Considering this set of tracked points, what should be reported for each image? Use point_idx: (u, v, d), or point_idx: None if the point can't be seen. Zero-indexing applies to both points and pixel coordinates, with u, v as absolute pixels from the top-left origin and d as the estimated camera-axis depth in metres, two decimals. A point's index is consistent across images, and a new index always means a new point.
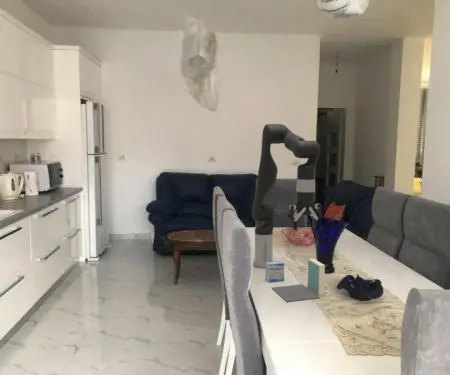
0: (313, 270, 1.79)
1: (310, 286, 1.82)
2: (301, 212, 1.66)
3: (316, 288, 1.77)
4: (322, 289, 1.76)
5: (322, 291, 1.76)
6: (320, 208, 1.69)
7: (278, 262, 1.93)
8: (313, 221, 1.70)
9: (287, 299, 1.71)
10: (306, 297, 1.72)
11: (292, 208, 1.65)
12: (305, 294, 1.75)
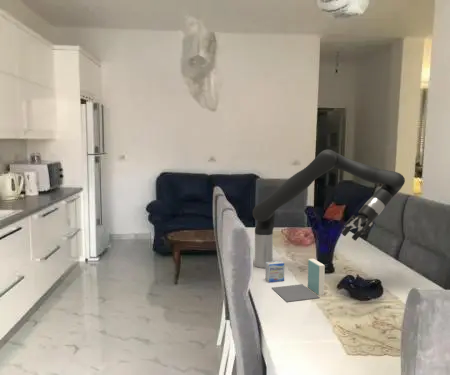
0: (313, 270, 1.79)
1: (310, 286, 1.82)
2: None
3: (316, 288, 1.77)
4: (322, 289, 1.76)
5: (322, 291, 1.76)
6: None
7: (278, 262, 1.93)
8: (347, 229, 1.86)
9: (287, 299, 1.71)
10: (306, 297, 1.72)
11: None
12: (305, 294, 1.75)
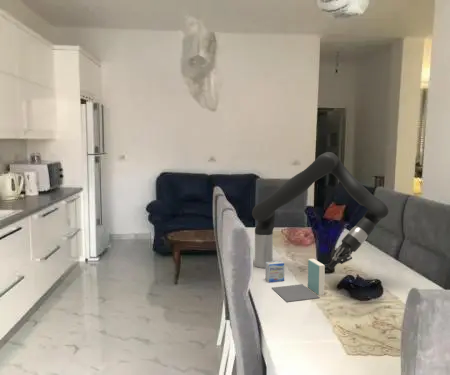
0: (313, 270, 1.79)
1: (310, 286, 1.82)
2: None
3: (316, 288, 1.77)
4: (322, 289, 1.76)
5: (322, 291, 1.76)
6: None
7: (278, 262, 1.93)
8: None
9: (287, 299, 1.71)
10: (306, 297, 1.72)
11: None
12: (305, 294, 1.75)
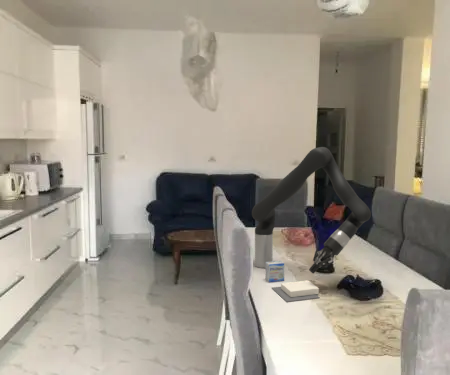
0: None
1: None
2: None
3: None
4: (313, 290, 1.75)
5: (315, 290, 1.75)
6: None
7: (278, 262, 1.93)
8: None
9: (287, 299, 1.71)
10: (306, 297, 1.72)
11: None
12: None
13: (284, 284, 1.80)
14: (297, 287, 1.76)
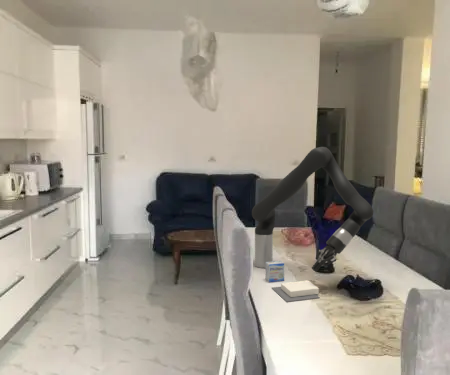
0: None
1: None
2: None
3: None
4: (313, 290, 1.75)
5: (315, 290, 1.75)
6: None
7: (278, 262, 1.93)
8: None
9: (287, 299, 1.71)
10: (306, 297, 1.72)
11: None
12: None
13: (284, 284, 1.80)
14: (297, 287, 1.76)
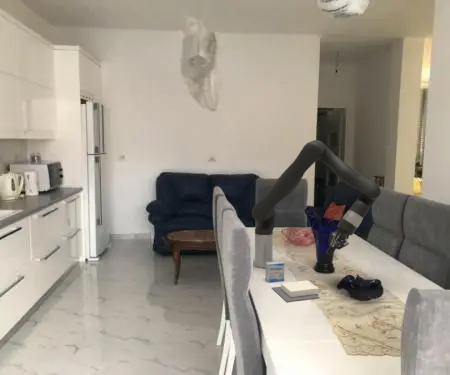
0: None
1: None
2: None
3: None
4: (313, 290, 1.75)
5: (315, 290, 1.75)
6: None
7: (278, 262, 1.93)
8: None
9: (287, 299, 1.71)
10: (306, 297, 1.72)
11: None
12: None
13: (284, 284, 1.80)
14: (297, 287, 1.76)
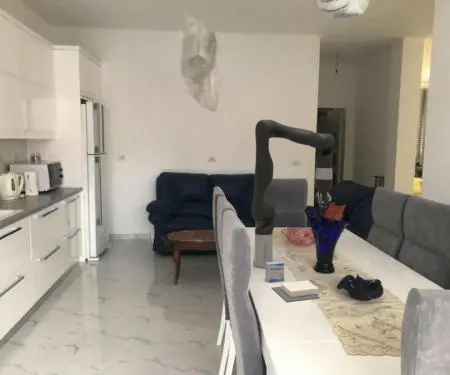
0: None
1: None
2: None
3: None
4: (313, 290, 1.75)
5: (315, 290, 1.75)
6: None
7: (278, 262, 1.93)
8: None
9: (287, 299, 1.71)
10: (306, 297, 1.72)
11: None
12: None
13: (284, 284, 1.80)
14: (297, 287, 1.76)
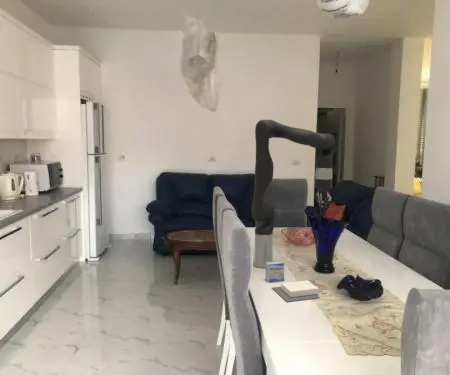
0: None
1: None
2: None
3: None
4: (313, 290, 1.75)
5: (315, 290, 1.75)
6: None
7: (278, 262, 1.93)
8: None
9: (287, 299, 1.71)
10: (306, 297, 1.72)
11: None
12: None
13: (284, 284, 1.80)
14: (297, 287, 1.76)
